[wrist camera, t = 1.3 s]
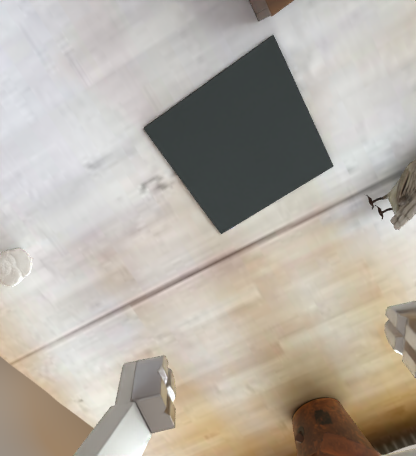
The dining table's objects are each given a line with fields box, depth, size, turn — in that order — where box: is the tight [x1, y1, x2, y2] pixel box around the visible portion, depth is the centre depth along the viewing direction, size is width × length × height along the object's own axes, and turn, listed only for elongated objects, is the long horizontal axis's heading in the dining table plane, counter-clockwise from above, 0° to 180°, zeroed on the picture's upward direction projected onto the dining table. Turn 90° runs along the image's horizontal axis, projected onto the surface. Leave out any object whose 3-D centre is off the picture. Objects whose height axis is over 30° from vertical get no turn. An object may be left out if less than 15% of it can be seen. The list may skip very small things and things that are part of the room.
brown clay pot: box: [292, 398, 381, 456], centre depth 70 cm, size 18×20×18 cm
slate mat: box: [144, 35, 333, 234], centre depth 45 cm, size 20×20×1 cm
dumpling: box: [0, 248, 33, 287], centre depth 49 cm, size 7×5×4 cm
